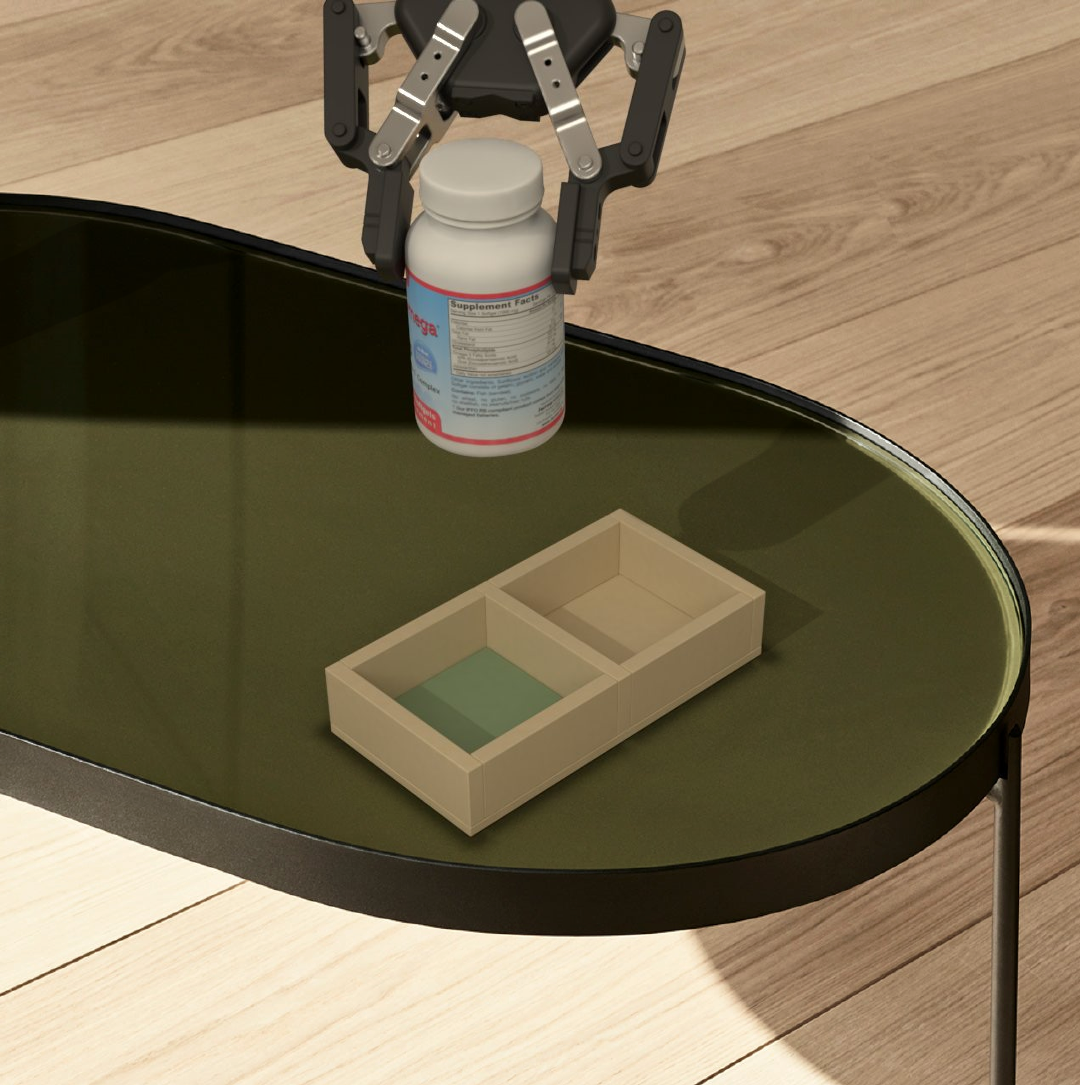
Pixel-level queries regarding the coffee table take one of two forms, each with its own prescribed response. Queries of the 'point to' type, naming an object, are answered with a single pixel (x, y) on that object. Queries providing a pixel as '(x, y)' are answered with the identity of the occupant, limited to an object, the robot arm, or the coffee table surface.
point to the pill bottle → (484, 301)
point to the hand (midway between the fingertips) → (476, 281)
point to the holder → (543, 667)
